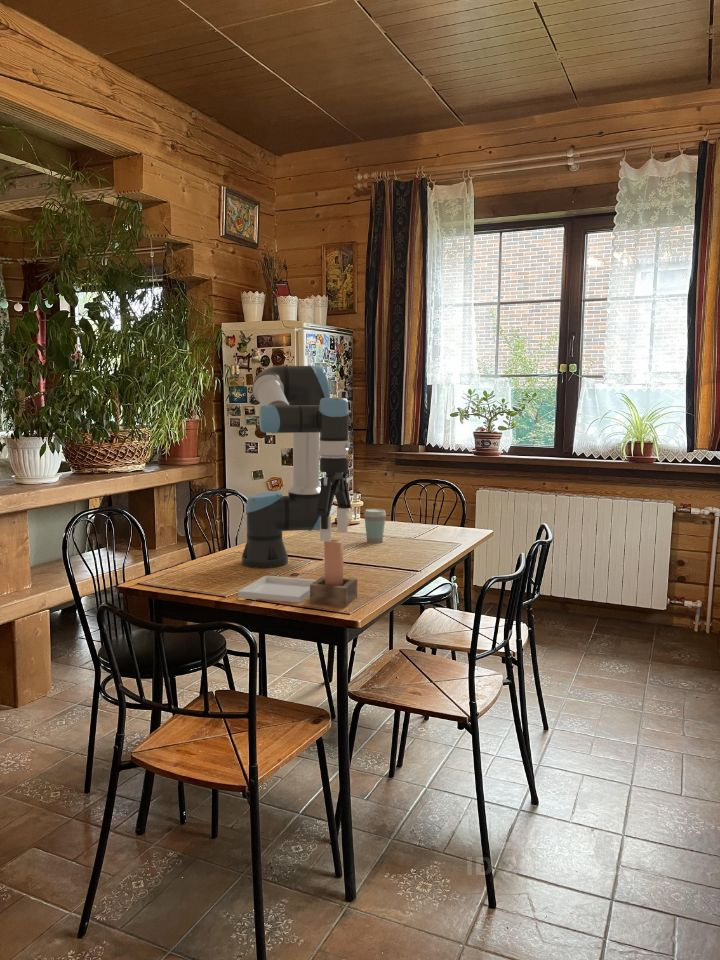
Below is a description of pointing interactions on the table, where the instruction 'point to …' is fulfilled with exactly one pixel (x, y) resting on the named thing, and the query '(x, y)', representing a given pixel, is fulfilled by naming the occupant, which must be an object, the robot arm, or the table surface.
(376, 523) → the coffee cup
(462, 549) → the table surface
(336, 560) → the peg
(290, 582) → the tray
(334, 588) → the socket block
